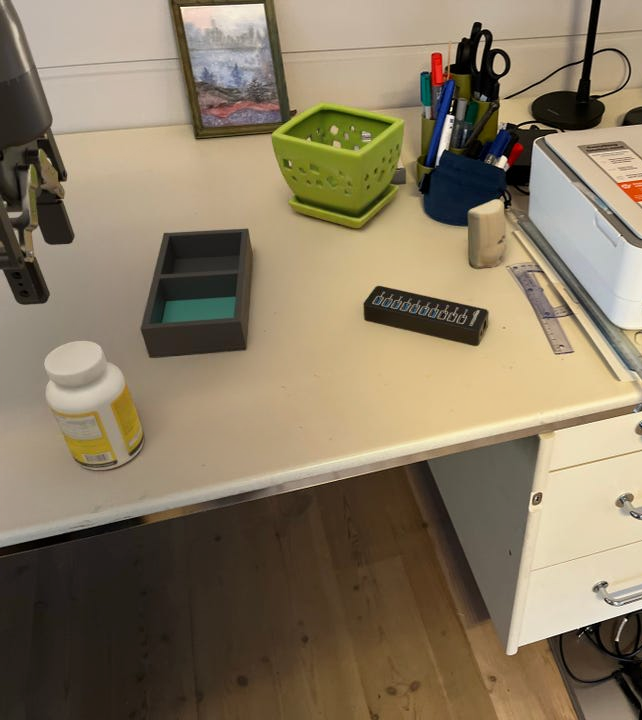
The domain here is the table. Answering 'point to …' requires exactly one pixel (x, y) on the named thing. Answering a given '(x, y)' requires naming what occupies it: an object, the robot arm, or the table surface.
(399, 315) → the multiport hub
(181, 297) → the dark grey divided tray
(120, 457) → the pill bottle
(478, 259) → the cream tall rounded block
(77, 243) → the table surface
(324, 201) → the flower pot
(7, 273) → the robot arm
